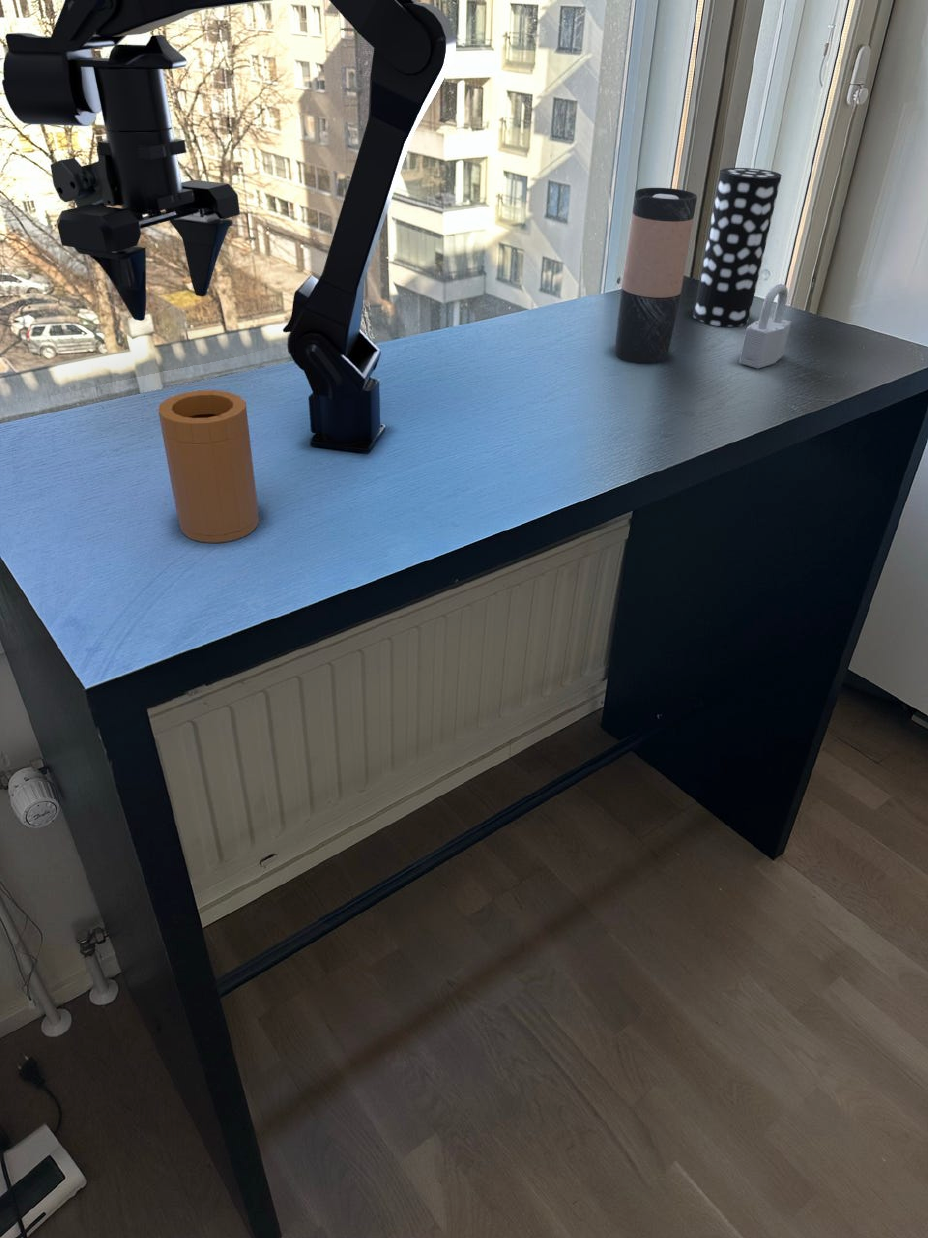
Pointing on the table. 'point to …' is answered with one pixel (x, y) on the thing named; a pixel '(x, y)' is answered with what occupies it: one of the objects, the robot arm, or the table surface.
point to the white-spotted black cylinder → (735, 245)
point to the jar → (210, 464)
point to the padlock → (767, 332)
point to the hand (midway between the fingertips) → (171, 307)
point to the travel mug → (653, 273)
